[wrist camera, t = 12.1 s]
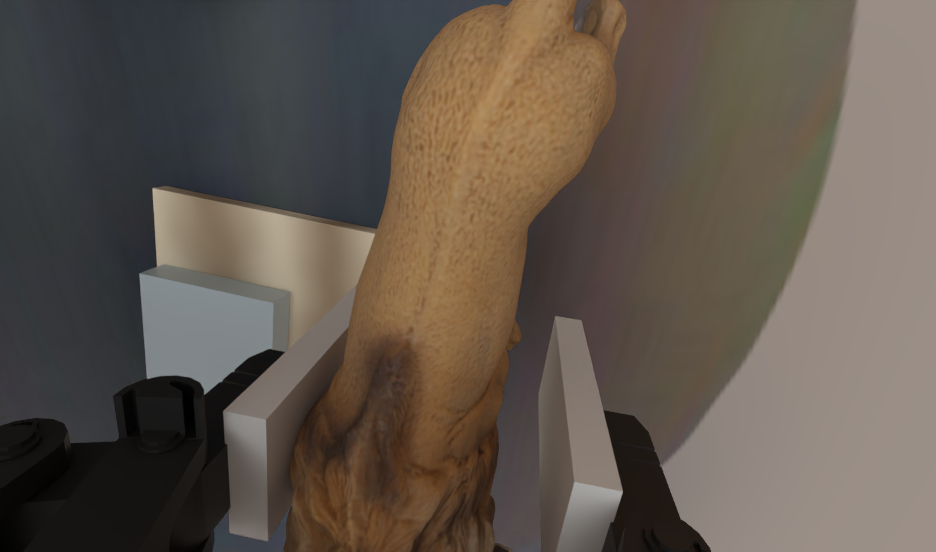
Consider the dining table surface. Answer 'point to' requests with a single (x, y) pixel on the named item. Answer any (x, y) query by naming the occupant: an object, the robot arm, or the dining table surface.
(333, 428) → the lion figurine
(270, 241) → the board
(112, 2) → the dining table surface
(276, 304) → the block
